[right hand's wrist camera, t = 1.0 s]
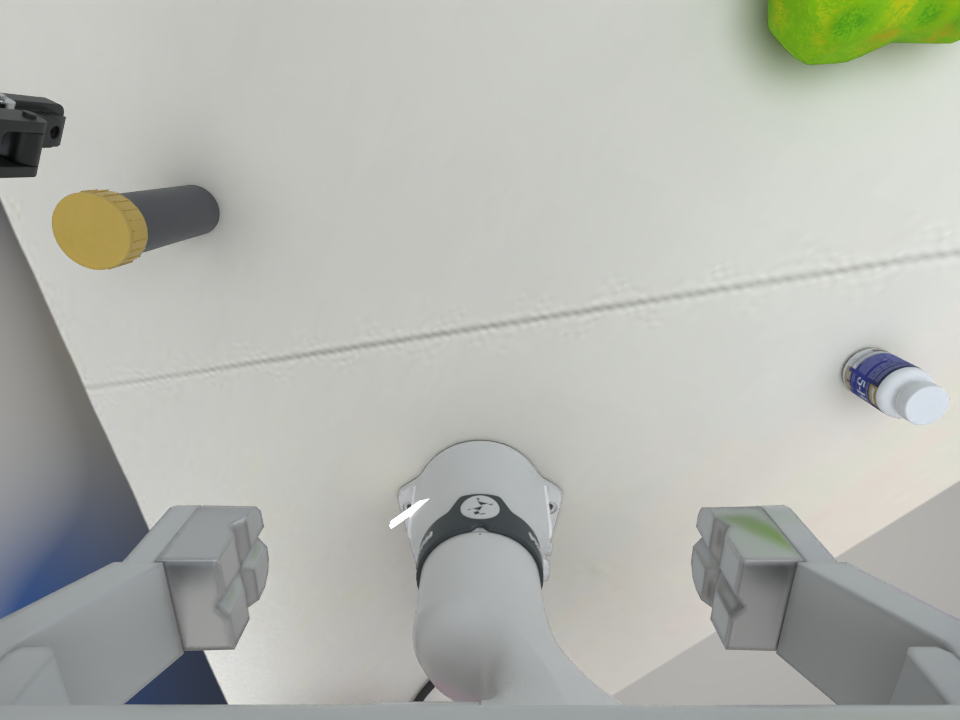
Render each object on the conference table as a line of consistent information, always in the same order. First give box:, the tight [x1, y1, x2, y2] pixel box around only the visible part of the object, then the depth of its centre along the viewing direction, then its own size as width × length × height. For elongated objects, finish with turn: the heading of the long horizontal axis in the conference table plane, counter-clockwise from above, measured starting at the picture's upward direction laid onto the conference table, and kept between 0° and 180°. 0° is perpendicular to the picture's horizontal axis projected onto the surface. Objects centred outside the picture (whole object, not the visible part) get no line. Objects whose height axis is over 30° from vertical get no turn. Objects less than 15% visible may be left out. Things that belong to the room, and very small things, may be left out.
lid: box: [52, 189, 148, 270], centre depth 42 cm, size 6×6×2 cm
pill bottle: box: [843, 348, 949, 425], centre depth 57 cm, size 5×5×9 cm
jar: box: [120, 185, 219, 253], centre depth 48 cm, size 5×5×15 cm
